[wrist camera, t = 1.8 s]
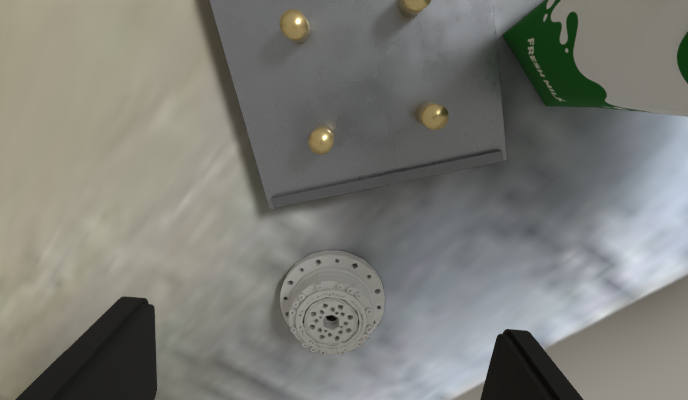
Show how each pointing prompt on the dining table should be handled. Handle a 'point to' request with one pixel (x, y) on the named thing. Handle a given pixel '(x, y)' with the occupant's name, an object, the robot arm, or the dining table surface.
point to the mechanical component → (332, 301)
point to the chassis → (363, 90)
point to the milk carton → (607, 53)
